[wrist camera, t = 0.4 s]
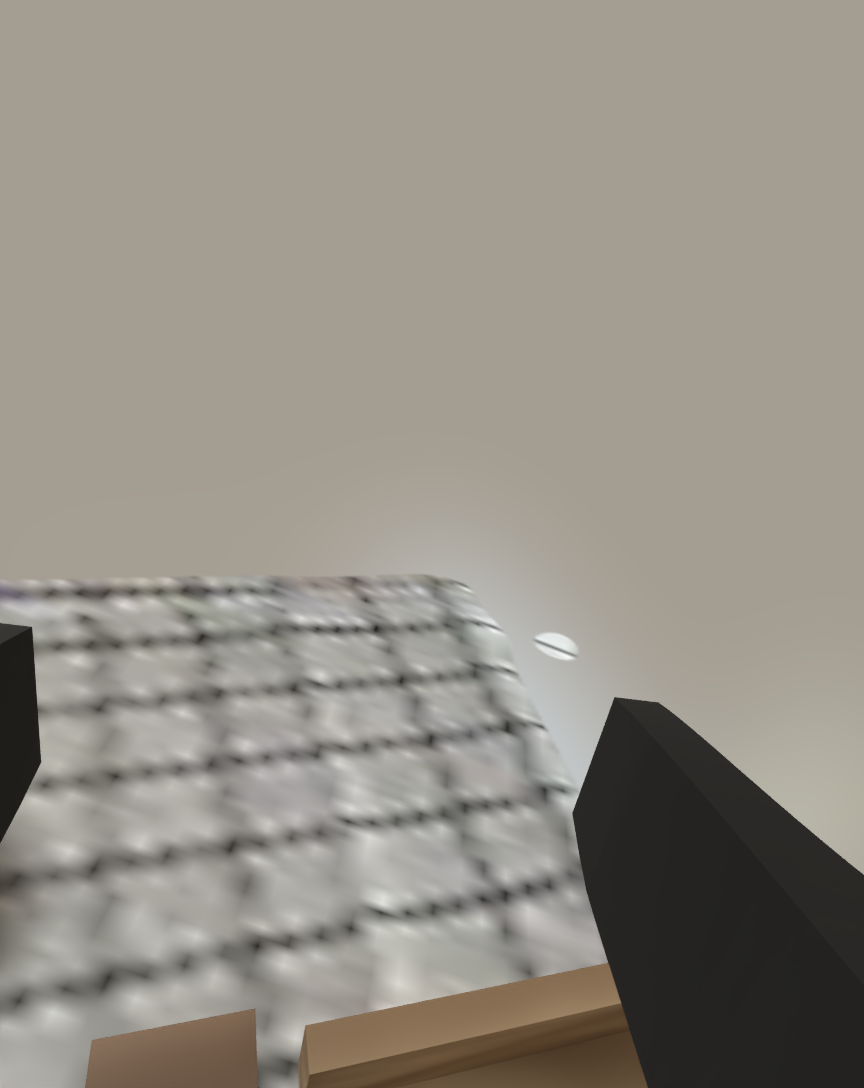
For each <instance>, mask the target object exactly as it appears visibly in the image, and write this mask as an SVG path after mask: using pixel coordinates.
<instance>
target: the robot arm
mask: <svg viewBox="0 0 864 1088" xmlns="http://www.w3.org/2000/svg"><path fill="white" fill-rule="evenodd" d="M40 763H41V754H40V739H39V724H38V709H37V694H36V679H35V664H34V649H33V634H32V627H27V626H19V625H11V624H2V623H0V843H1V841H2V839H3V837H4V835H5V833H6V831H7V829H8V827H9V826H10V824H11V822H12V820H13V818H14V816H15V814H16V812H17V810H18V808H19V806H20V804H21V802H22V800H23V798H24V796H25V794H26V792H27V790H28V788H29V786H30V784H31V782H32V780H33V778H34V776H35V774H36V772H37V770H38V767H39V765H40ZM573 819H574V825H575V831H576V837H577V843H578V849H579V855H580V860H581V865H582V870H583V876H584V881H585V886H586V891H587V894H588V897H589V901H590V904H591V908H592V911H593V914H594V918H595V921H596V924H597V927H598V931H599V934H600V937H601V940H602V944H603V947H604V950H605V953H606V957H607V960H608V963H609V966H610V969H611V973H612V976H613V979H614V982H615V985H616V988H617V992H618V995H619V998H620V1001H621V1004H622V1007H623V1011H624V1014H625V1017H626V1020H627V1023H628V1026H629V1030H630V1033H631V1036H632V1039H633V1042H634V1045H635V1049H636V1052H637V1055H638V1058H639V1061H640V1064H641V1068H642V1071H643V1074H644V1077H645V1080H646V1083H647V1087H648V1088H864V875H863V874H862V873H861V872H860V871H858V870H857V869H856V868H854V867H853V866H852V865H851V864H849V863H848V862H847V861H846V860H845V859H843V858H842V857H841V856H840V855H838V854H837V853H836V852H835V851H834V850H832V849H831V848H830V847H829V846H828V845H826V844H825V843H824V842H823V841H822V840H820V839H819V838H818V837H817V836H815V835H814V834H813V833H812V832H811V831H810V830H808V829H807V828H806V827H805V826H804V825H802V824H801V823H800V822H799V821H798V820H797V819H795V818H794V817H793V816H792V815H791V814H790V813H788V812H787V811H786V810H785V809H784V808H782V807H781V806H780V805H779V804H778V803H777V802H775V801H774V800H773V799H772V798H771V797H770V796H768V794H766V793H765V792H764V791H763V790H762V789H761V788H759V787H758V786H757V785H756V784H755V783H754V782H753V781H751V780H750V779H749V778H748V777H747V776H746V775H745V774H743V773H742V772H741V771H740V770H739V769H738V768H736V767H735V766H734V765H733V764H732V763H731V762H730V761H728V760H727V759H726V758H725V757H724V756H723V755H722V754H721V753H719V752H718V751H717V750H716V749H715V748H714V747H712V746H711V745H710V744H709V743H708V742H707V741H706V740H704V739H703V738H702V737H701V736H700V735H698V734H697V733H696V732H695V731H694V730H693V729H691V728H690V727H689V726H688V725H687V724H685V723H684V722H683V721H682V720H680V719H679V718H678V717H677V716H676V715H674V714H673V713H672V712H670V711H669V710H668V709H666V708H665V707H664V706H662V705H661V704H659V703H658V702H649V701H641V700H632V699H624V698H616V697H615V698H614V700H613V703H612V706H611V709H610V711H609V714H608V717H607V720H606V722H605V726H604V728H603V731H602V734H601V736H600V739H599V742H598V744H597V747H596V750H595V753H594V755H593V758H592V761H591V764H590V766H589V769H588V772H587V775H586V777H585V780H584V783H583V786H582V788H581V791H580V794H579V797H578V799H577V802H576V805H575V808H574V810H573Z"/></svg>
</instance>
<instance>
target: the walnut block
mask: <svg viewBox="0 0 864 1088" xmlns="http://www.w3.org/2000/svg"><path fill="white" fill-rule="evenodd" d="M85 1088H258V1085H257V1050H256V1016H255V1009H251V1010H246V1011H241V1012H235V1013H230V1014H225V1015H220V1016H215V1017H210V1018H204V1019H199V1020H194V1021H189V1022H184V1023H178V1024H173V1025H168V1026H163V1027H158V1028H153V1029H147V1030H142V1031H137V1032H132V1033H127V1034H121V1035H116V1036H111V1037H106V1038H101V1039H96V1040H92V1043H91V1050H90V1057H89V1065H88V1072H87V1079H86V1086H85Z"/></svg>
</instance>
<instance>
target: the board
mask: <svg viewBox="0 0 864 1088" xmlns="http://www.w3.org/2000/svg"><path fill="white" fill-rule="evenodd" d="M298 1076H299V1088H648V1087H647V1083H646V1080H645V1077H644V1074H643V1071H642V1068H641V1064H640V1061H639V1058H638V1055H637V1052H636V1049H635V1045H634V1042H633V1039H632V1036H631V1033H630V1030H629V1026H628V1023H627V1020H626V1017H625V1014H624V1011H623V1007H622V1004H621V1001H620V998H619V995H618V992H617V988H616V985H615V982H614V979H613V976H612V973H611V969H610V966H609V963H606V964H601V965H596V966H592V967H587V968H582V969H577V970H572V971H567V972H563V973H558V974H553V975H548V976H543V977H538V978H534V979H529V980H524V981H519V982H514V983H509V984H505V985H500V986H495V987H490V988H485V989H480V990H476V991H471V992H466V993H461V994H456V995H451V996H447V997H442V998H437V999H432V1000H427V1001H422V1002H418V1003H413V1004H408V1005H403V1006H398V1007H393V1008H389V1009H384V1010H379V1011H374V1012H369V1013H364V1014H360V1015H355V1016H350V1017H345V1018H340V1019H335V1020H331V1021H326V1022H321V1023H316V1024H311V1025H306V1026H305V1031H304V1037H303V1042H302V1048H301V1053H300V1059H299V1064H298Z"/></svg>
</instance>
